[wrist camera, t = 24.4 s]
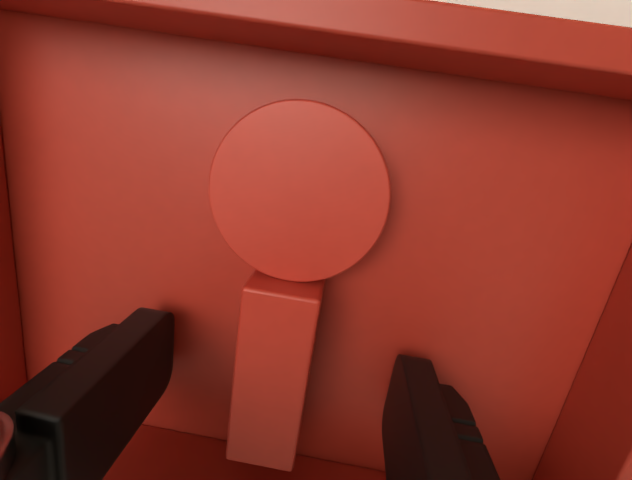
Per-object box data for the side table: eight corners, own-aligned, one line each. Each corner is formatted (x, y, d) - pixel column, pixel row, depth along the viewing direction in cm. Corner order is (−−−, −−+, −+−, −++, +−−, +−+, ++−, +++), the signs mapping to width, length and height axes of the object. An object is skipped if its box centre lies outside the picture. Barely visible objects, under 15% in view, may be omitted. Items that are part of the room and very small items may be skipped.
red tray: (705, 83, 7) (882, 60, 5) (528, 497, 11) (582, 608, 8) (-13, -18, 8) (-174, -83, 6) (30, 400, 11) (-60, 475, 9)
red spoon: (230, 90, 8) (200, 80, 6) (402, 116, 8) (415, 113, 6) (207, 403, 10) (181, 452, 8) (338, 428, 10) (335, 483, 8)
